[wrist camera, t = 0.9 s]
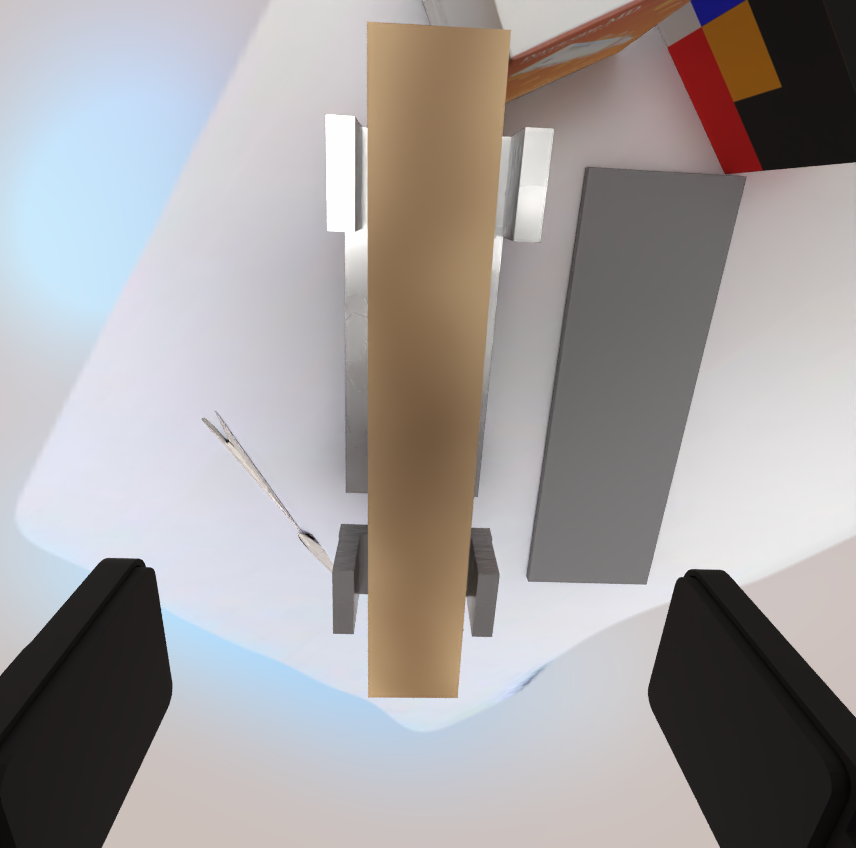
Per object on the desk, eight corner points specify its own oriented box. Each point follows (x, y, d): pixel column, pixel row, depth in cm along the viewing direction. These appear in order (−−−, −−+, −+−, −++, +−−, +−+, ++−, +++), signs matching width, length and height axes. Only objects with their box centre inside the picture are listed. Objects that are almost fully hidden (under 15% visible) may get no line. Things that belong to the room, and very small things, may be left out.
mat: (739, 177, 28) (746, 176, 27) (642, 578, 37) (646, 584, 37) (585, 167, 28) (589, 167, 27) (526, 575, 37) (528, 581, 36)
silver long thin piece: (355, 648, 38) (175, 432, 32) (356, 637, 39) (181, 426, 33) (405, 623, 38) (232, 397, 31) (404, 612, 38) (236, 392, 32)
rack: (508, 152, 27) (587, 110, 15) (475, 488, 34) (511, 647, 22) (346, 142, 27) (293, 91, 15) (347, 484, 34) (311, 643, 22)
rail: (491, 64, 17) (511, 29, 13) (451, 633, 25) (457, 697, 22) (375, 58, 16) (367, 21, 13) (374, 632, 25) (368, 697, 21)
